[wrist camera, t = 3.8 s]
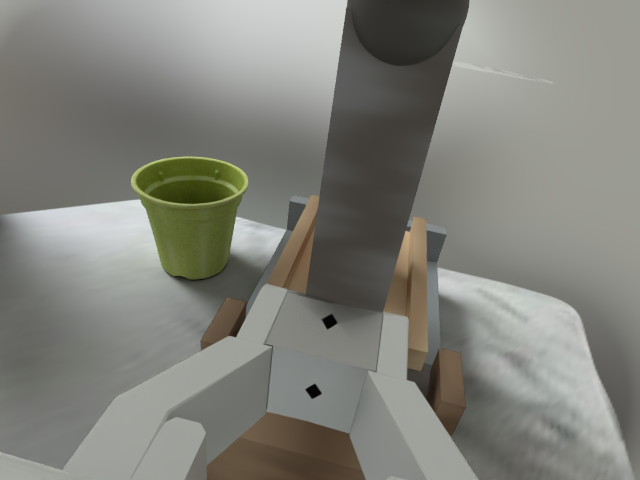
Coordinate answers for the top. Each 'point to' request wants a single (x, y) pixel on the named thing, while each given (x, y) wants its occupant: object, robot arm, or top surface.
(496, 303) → the top surface
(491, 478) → the top surface
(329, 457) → the lever stand
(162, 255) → the plant pot
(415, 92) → the launcher
